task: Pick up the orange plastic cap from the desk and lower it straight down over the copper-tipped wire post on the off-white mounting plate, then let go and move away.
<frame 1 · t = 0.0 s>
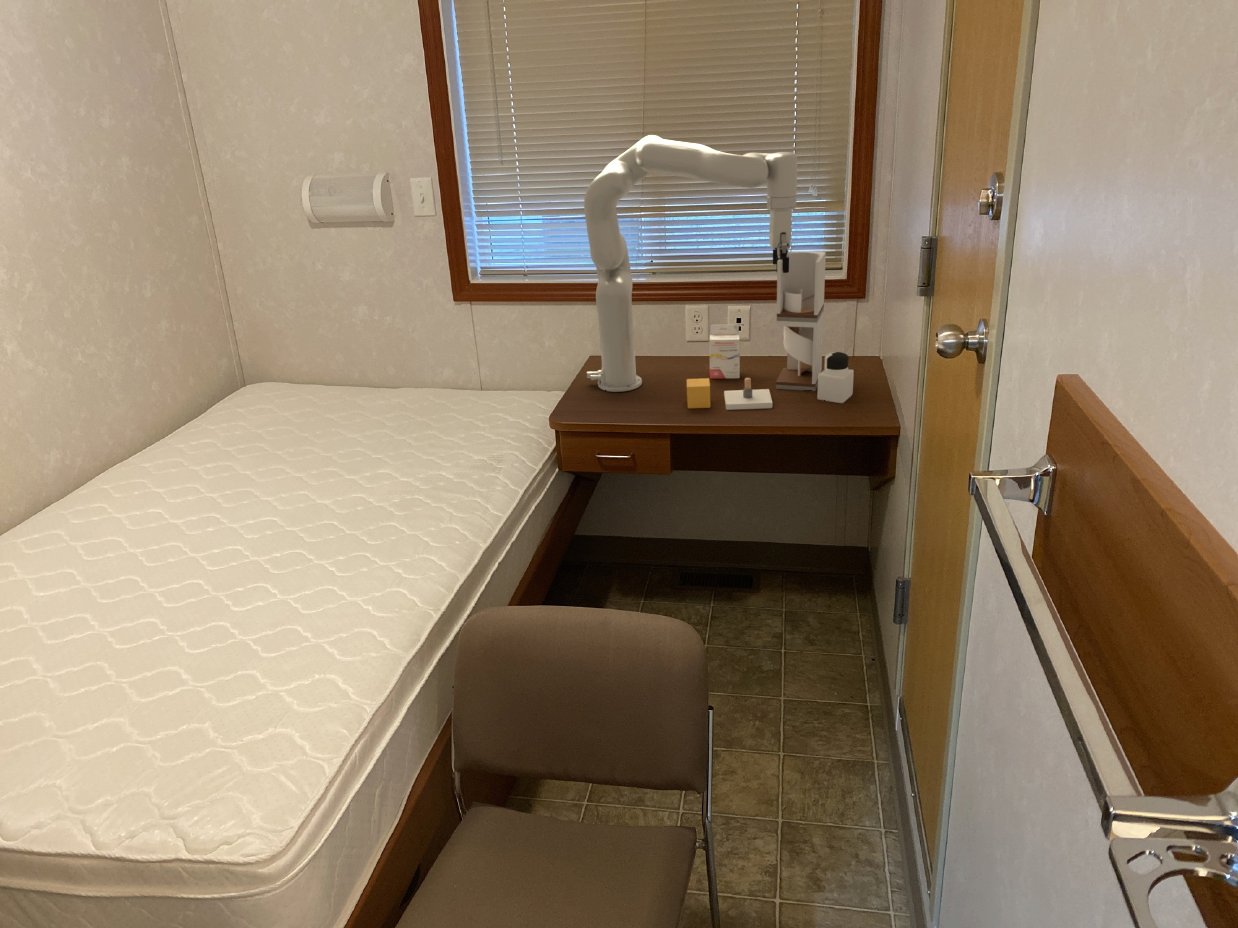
hand: (780, 268, 243), 31 cm above the table, tool pointing down, fingers open, 9 cm apart
mount plate: (747, 401, 242), on the table
display case: (798, 383, 253), on the table
cap: (698, 403, 243), on the table
medicine bottle: (834, 398, 241), on the table
ink cartridge box: (724, 376, 261), on the table
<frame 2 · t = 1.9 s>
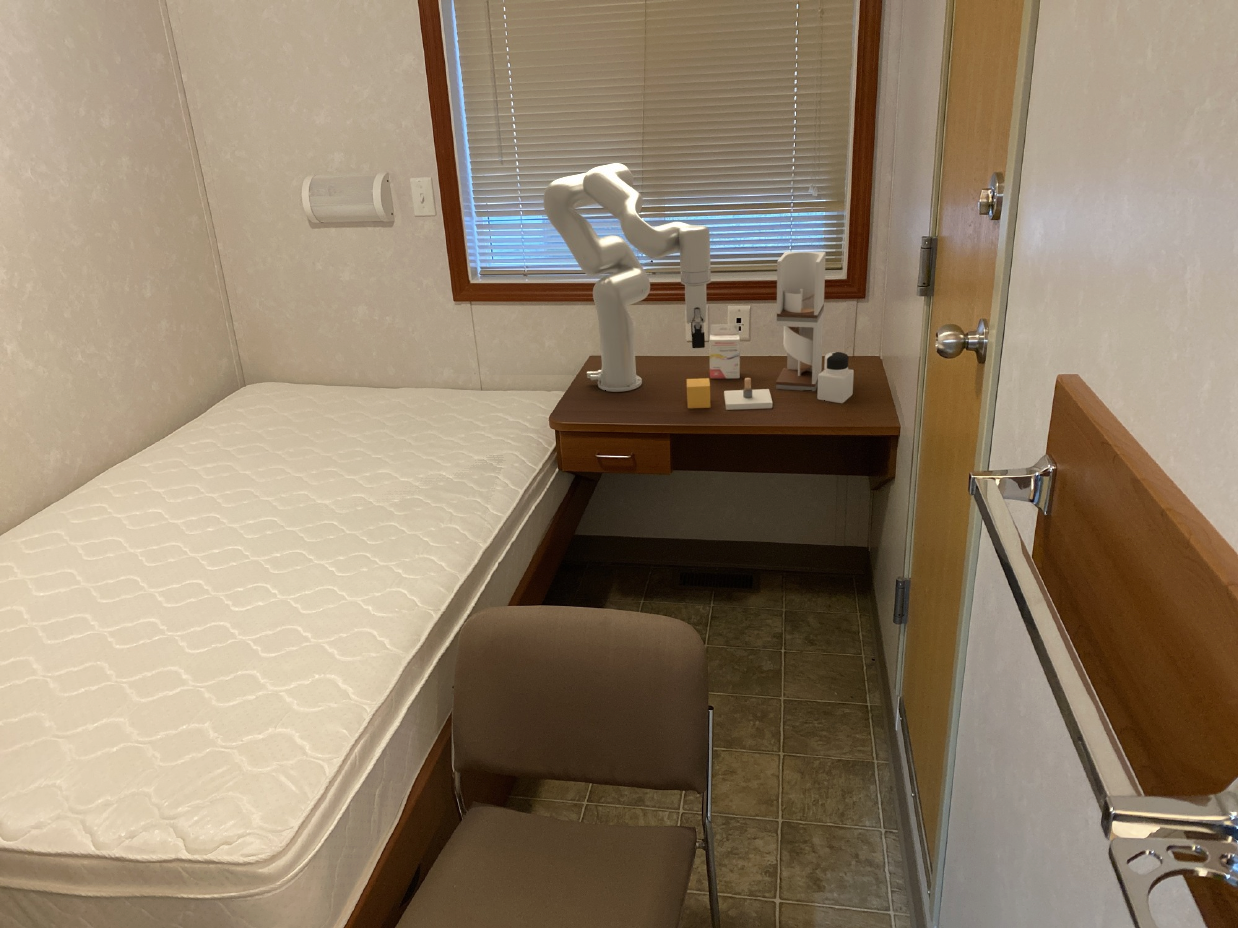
hand: (698, 342, 235), 17 cm above the table, tool pointing down, fingers open, 9 cm apart
nothing on the table moved.
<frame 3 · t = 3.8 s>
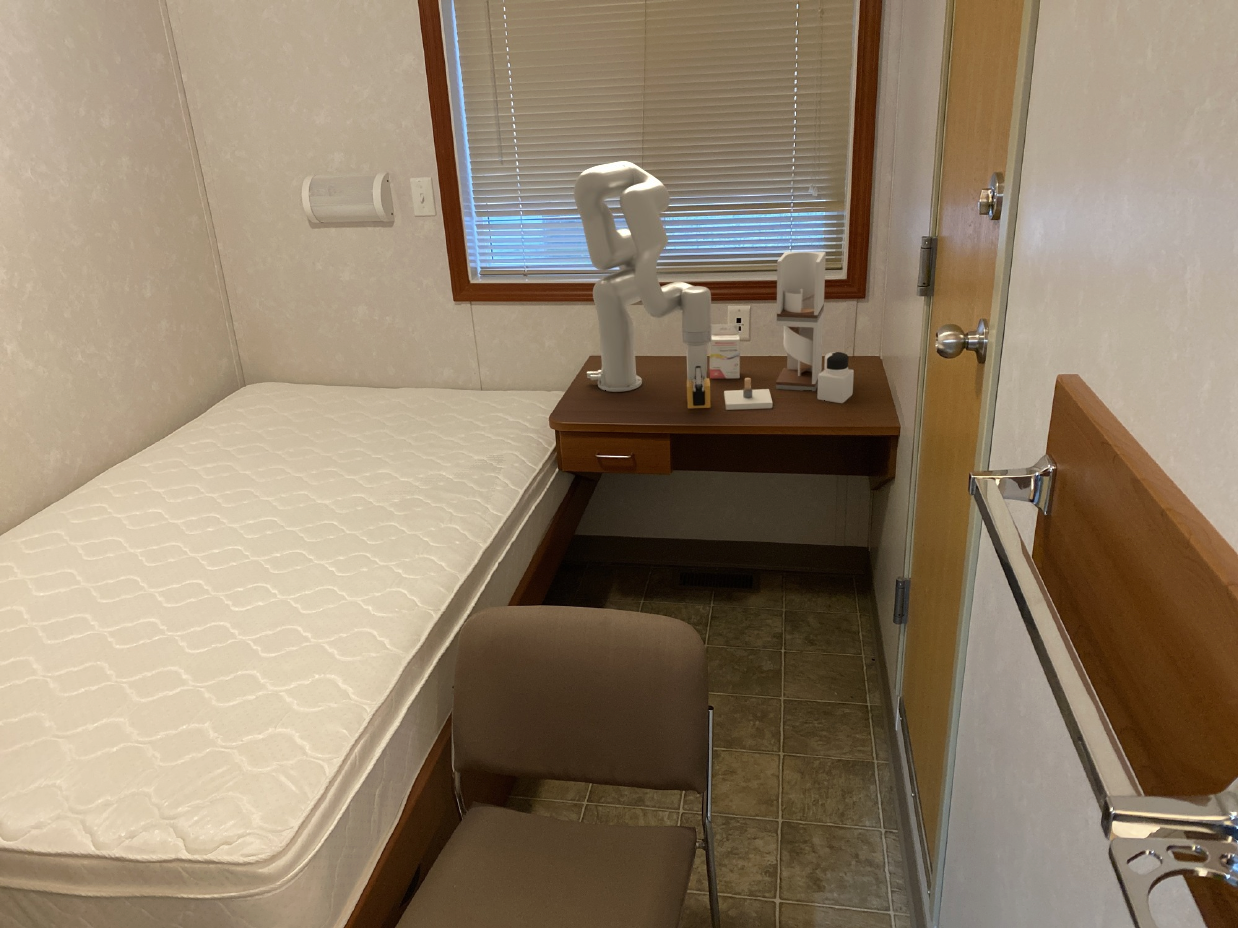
hand: (698, 400, 242), 1 cm above the table, tool pointing down, fingers closed on cap, 5 cm apart
cap: (698, 403, 243), on the table, touching gripper
everything else where it was.
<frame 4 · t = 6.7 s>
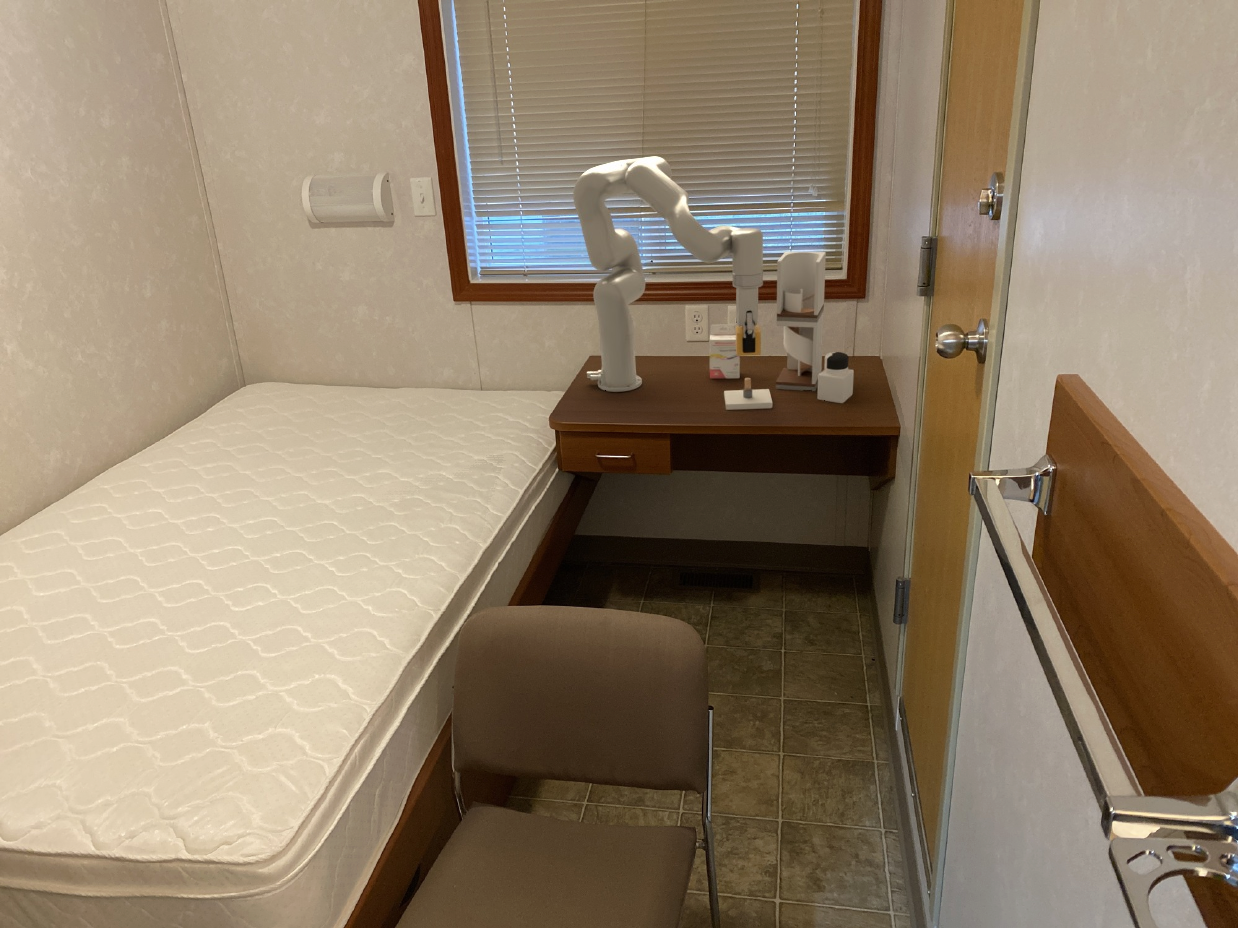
hand: (747, 347, 235), 15 cm above the table, tool pointing down, fingers closed on cap, 5 cm apart
cap: (748, 351, 236), point 14 cm above the table, touching gripper
everything else where it was.
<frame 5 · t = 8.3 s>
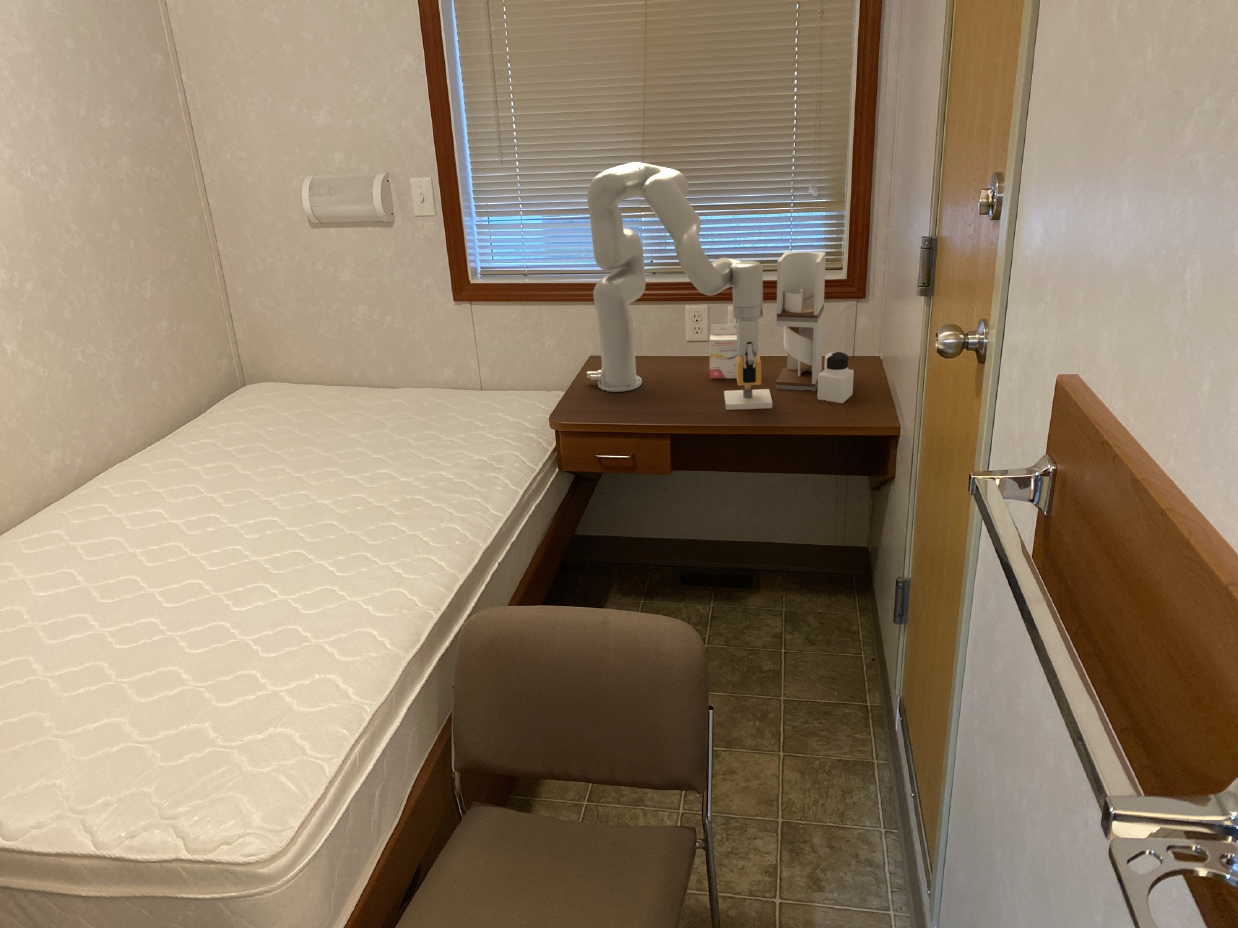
hand: (748, 377, 239), 7 cm above the table, tool pointing down, fingers closed on cap, 5 cm apart
cap: (748, 381, 239), point 6 cm above the table, touching gripper
everything else where it was.
when the fingers open (4 cm above the table, at t = 9.6 s): cap drops 1 cm, resting on mount plate.
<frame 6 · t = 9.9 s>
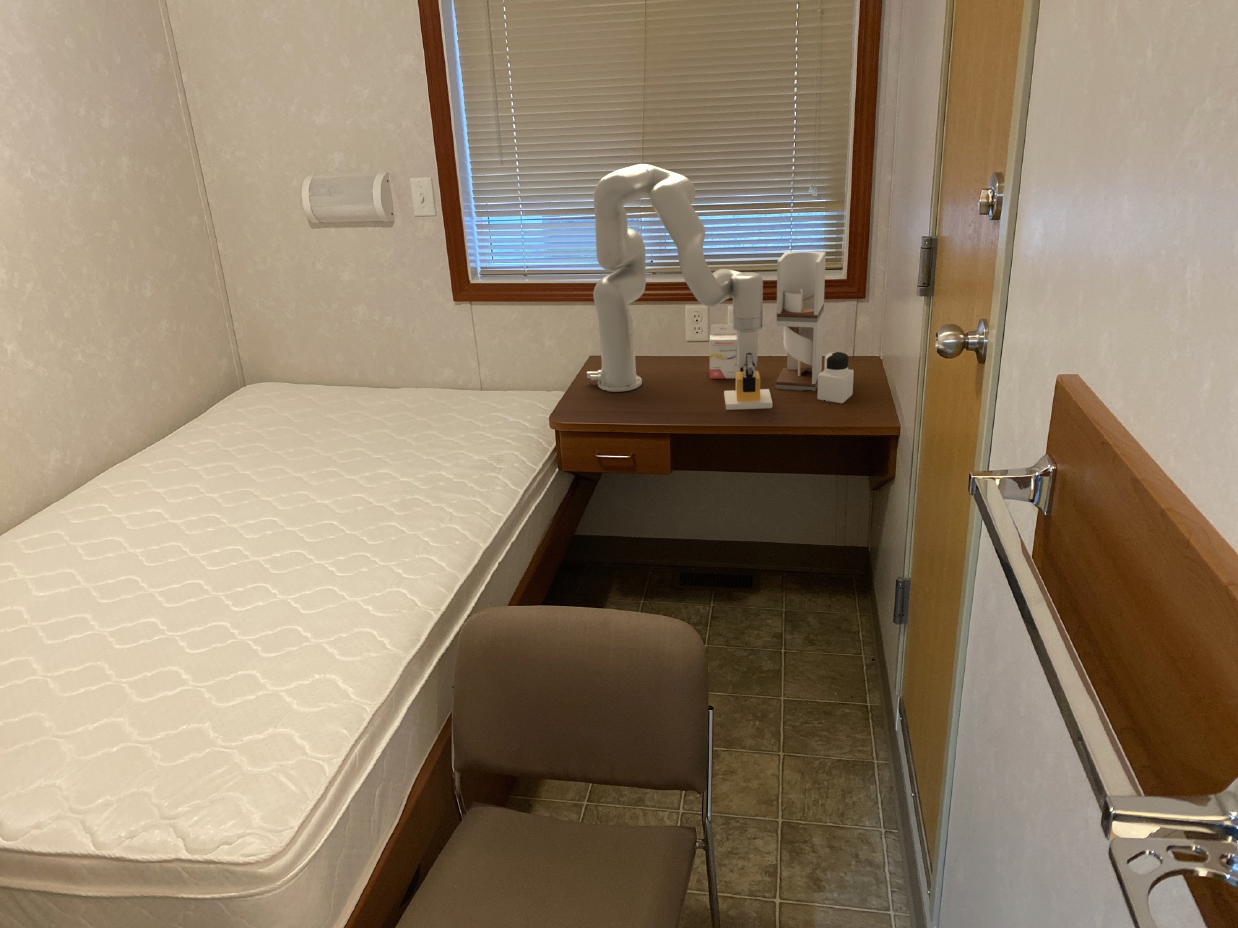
hand: (747, 385, 240), 5 cm above the table, tool pointing down, fingers open, 9 cm apart
cap: (747, 396, 241), point 1 cm above the table, touching mount plate
everything else where it was.
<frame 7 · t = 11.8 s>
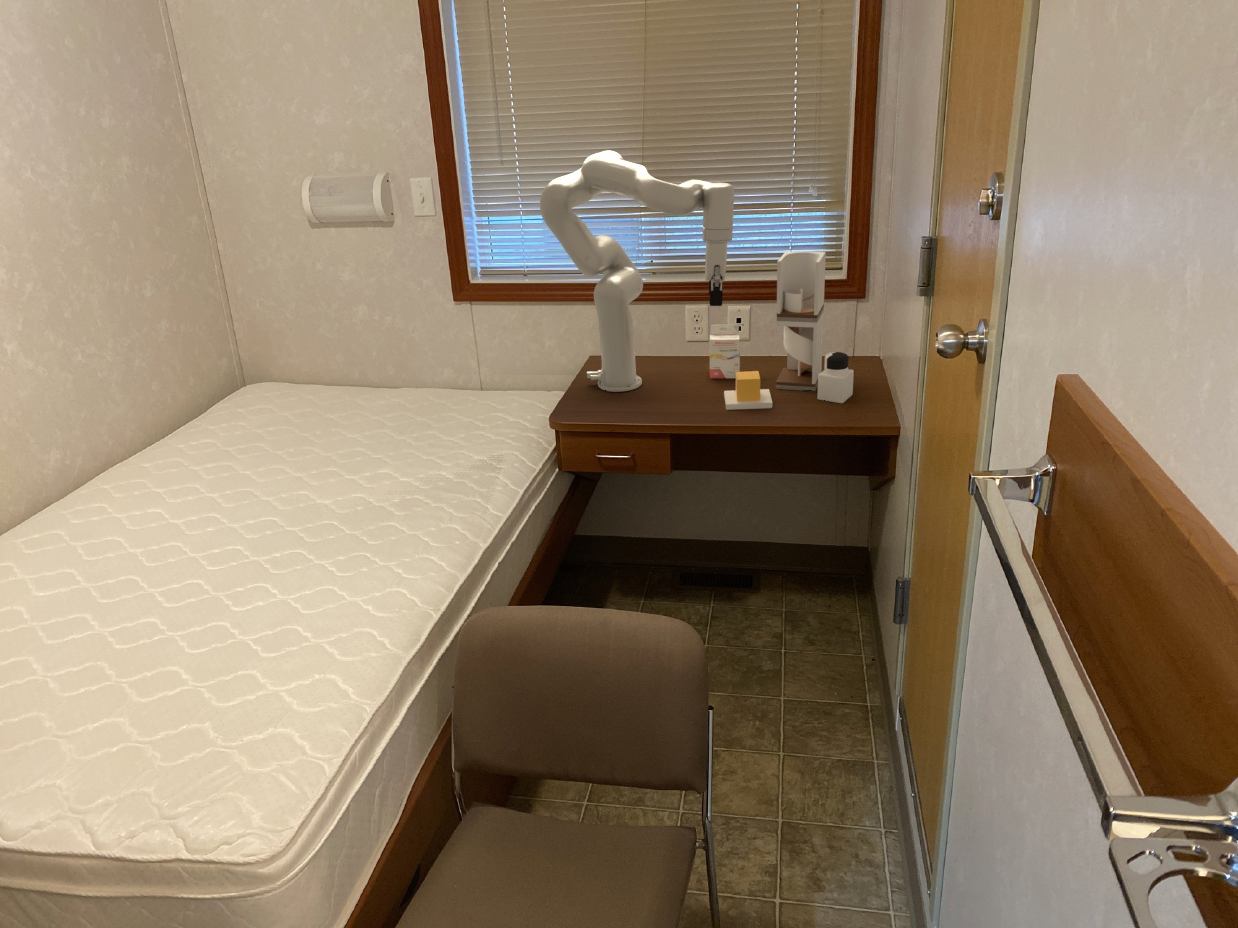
hand: (715, 300, 237), 26 cm above the table, tool pointing down, fingers open, 9 cm apart
nothing on the table moved.
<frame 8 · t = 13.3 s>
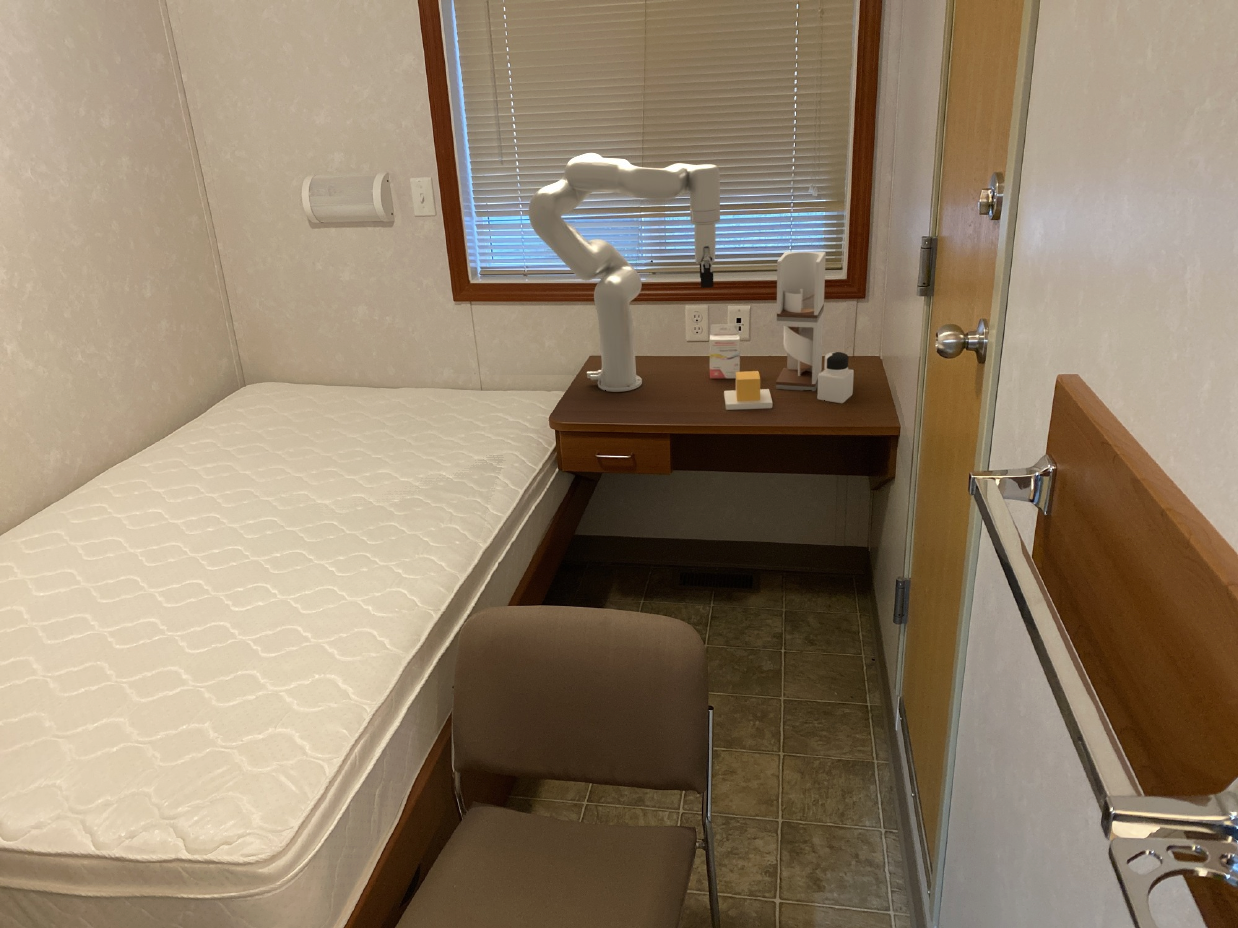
hand: (706, 282, 238), 30 cm above the table, tool pointing down, fingers open, 9 cm apart
nothing on the table moved.
at the end: cap 0.0 cm off-centre on the mount plate, point 1.5 cm above the mount plate's base; cap tilted 0°; the gripper is holding nothing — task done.
